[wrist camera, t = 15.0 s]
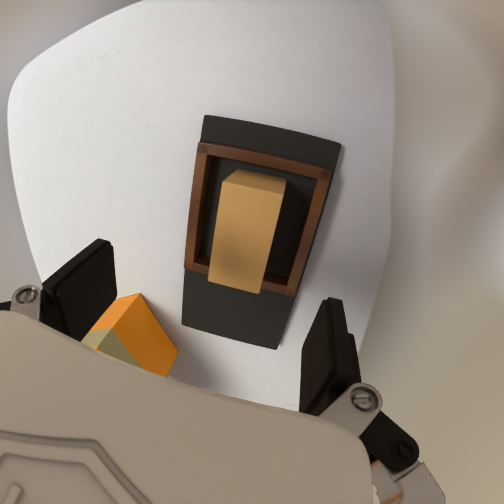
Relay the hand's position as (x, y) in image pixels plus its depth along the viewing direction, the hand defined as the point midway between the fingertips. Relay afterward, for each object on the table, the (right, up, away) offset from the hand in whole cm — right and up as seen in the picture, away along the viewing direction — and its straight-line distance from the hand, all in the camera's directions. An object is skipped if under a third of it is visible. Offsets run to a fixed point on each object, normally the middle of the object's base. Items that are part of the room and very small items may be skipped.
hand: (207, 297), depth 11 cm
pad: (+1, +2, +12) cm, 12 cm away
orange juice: (-12, -7, +19) cm, 24 cm away
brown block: (+2, +4, +10) cm, 11 cm away
